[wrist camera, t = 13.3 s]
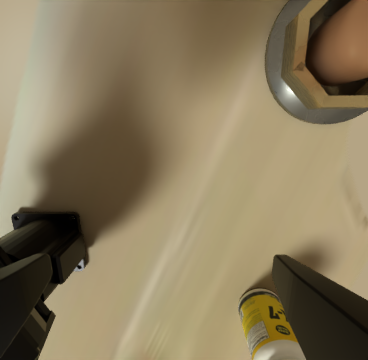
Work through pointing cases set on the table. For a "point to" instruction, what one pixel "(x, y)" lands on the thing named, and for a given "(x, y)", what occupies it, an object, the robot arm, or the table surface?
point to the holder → (298, 73)
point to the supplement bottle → (267, 327)
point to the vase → (340, 46)
